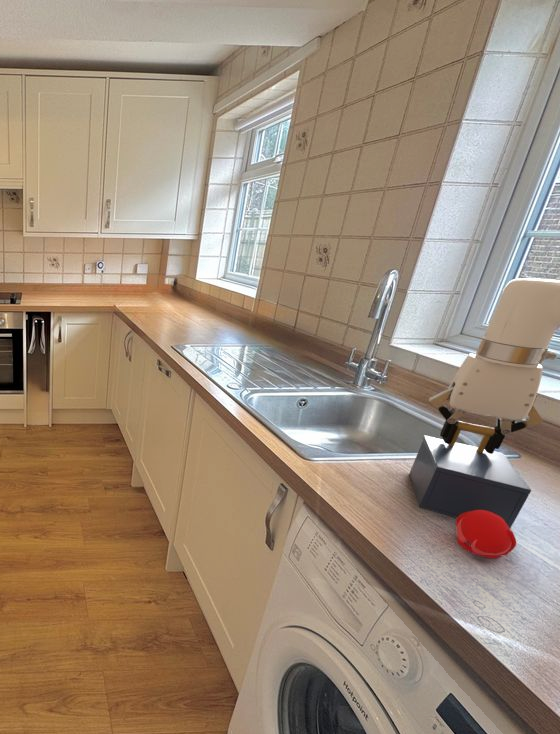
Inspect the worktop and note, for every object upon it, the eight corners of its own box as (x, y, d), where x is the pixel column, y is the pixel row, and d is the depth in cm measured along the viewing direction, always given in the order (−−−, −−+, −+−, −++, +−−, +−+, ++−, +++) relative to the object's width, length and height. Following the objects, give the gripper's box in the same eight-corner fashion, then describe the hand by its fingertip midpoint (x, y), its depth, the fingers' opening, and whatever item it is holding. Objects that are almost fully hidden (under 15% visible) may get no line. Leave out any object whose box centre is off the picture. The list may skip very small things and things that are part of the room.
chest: (409, 473, 84) (422, 440, 81) (485, 493, 78) (503, 458, 75) (419, 507, 73) (435, 470, 71) (508, 533, 68) (529, 494, 65)
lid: (422, 438, 82) (433, 412, 80) (501, 456, 76) (515, 429, 74) (435, 470, 71) (448, 441, 69) (529, 494, 65) (546, 463, 63)
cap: (512, 573, 60) (531, 540, 57) (457, 555, 63) (473, 523, 60) (496, 541, 66) (512, 510, 64) (447, 526, 69) (461, 496, 67)
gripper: (572, 357, 69) (523, 451, 75) (439, 340, 77) (405, 425, 84) (594, 368, 63) (539, 469, 69) (447, 348, 71) (410, 440, 78)
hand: (466, 444), depth 77 cm, fingers closed on lid, 5 cm apart
